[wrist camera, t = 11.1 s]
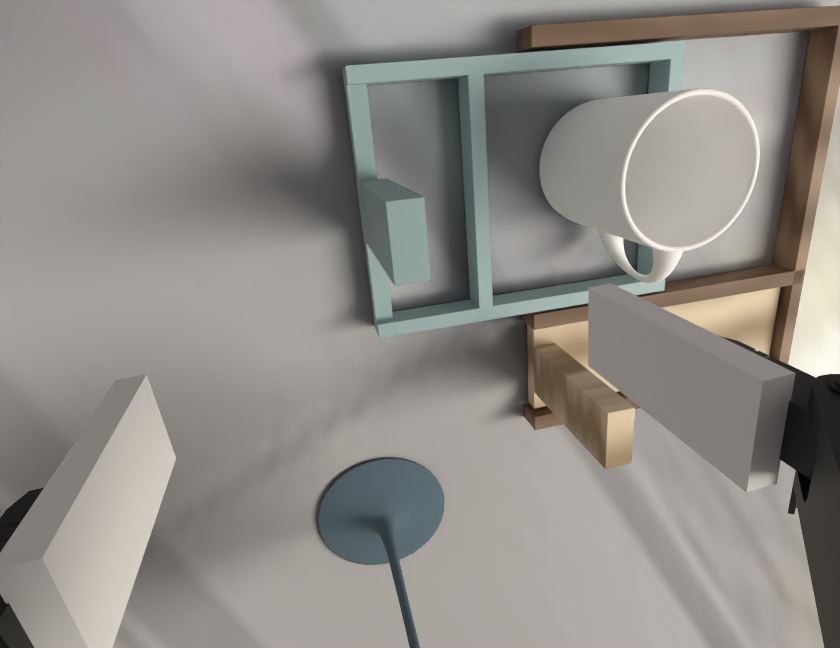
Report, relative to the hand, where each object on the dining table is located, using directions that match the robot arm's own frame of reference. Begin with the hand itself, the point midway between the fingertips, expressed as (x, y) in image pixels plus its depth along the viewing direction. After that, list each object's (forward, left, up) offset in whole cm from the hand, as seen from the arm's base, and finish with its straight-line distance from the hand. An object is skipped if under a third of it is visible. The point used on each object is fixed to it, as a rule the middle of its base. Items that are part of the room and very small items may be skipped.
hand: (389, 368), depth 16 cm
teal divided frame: (-1, +13, -22) cm, 26 cm away
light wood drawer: (+12, +25, -22) cm, 36 cm away
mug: (-1, +19, -23) cm, 30 cm away
